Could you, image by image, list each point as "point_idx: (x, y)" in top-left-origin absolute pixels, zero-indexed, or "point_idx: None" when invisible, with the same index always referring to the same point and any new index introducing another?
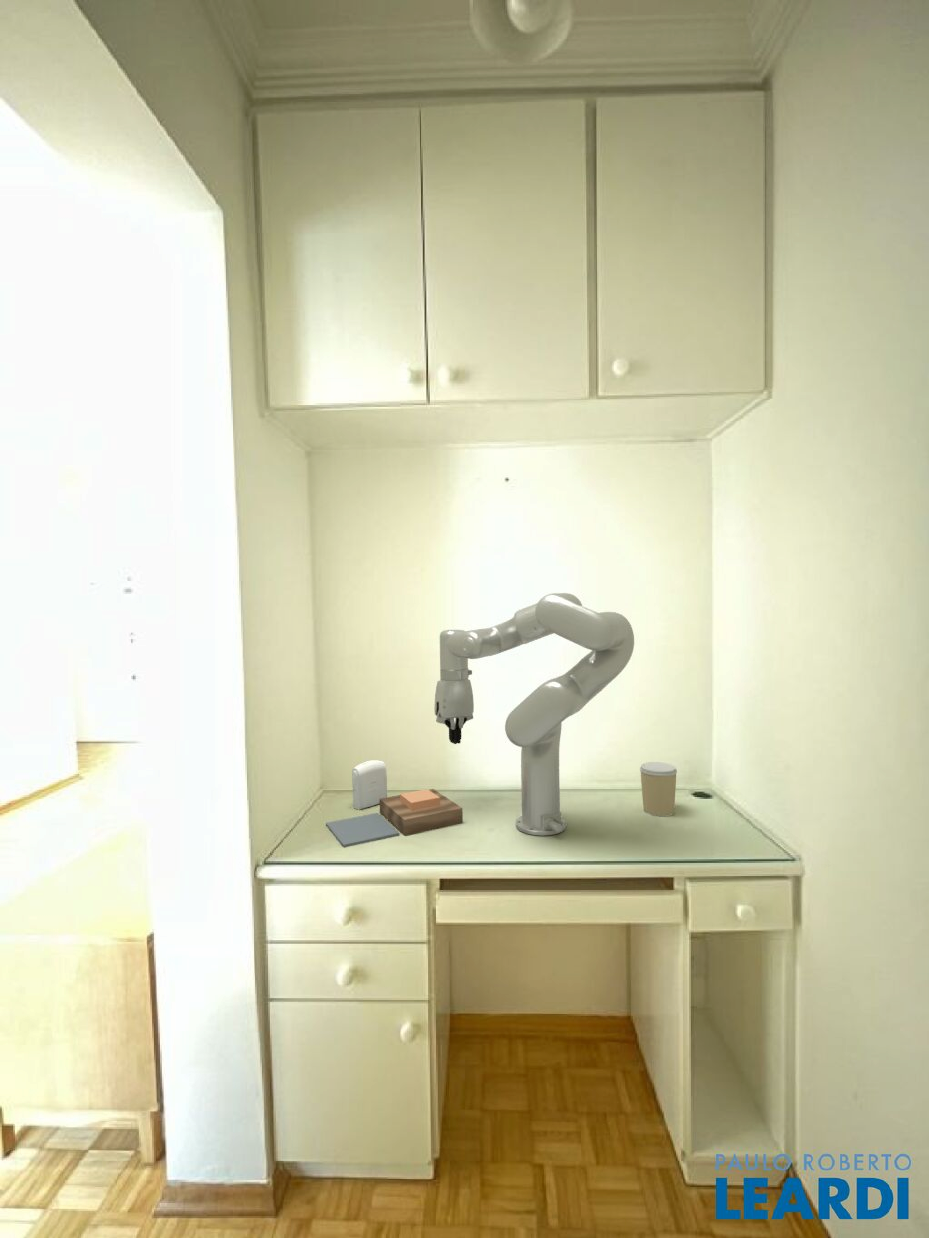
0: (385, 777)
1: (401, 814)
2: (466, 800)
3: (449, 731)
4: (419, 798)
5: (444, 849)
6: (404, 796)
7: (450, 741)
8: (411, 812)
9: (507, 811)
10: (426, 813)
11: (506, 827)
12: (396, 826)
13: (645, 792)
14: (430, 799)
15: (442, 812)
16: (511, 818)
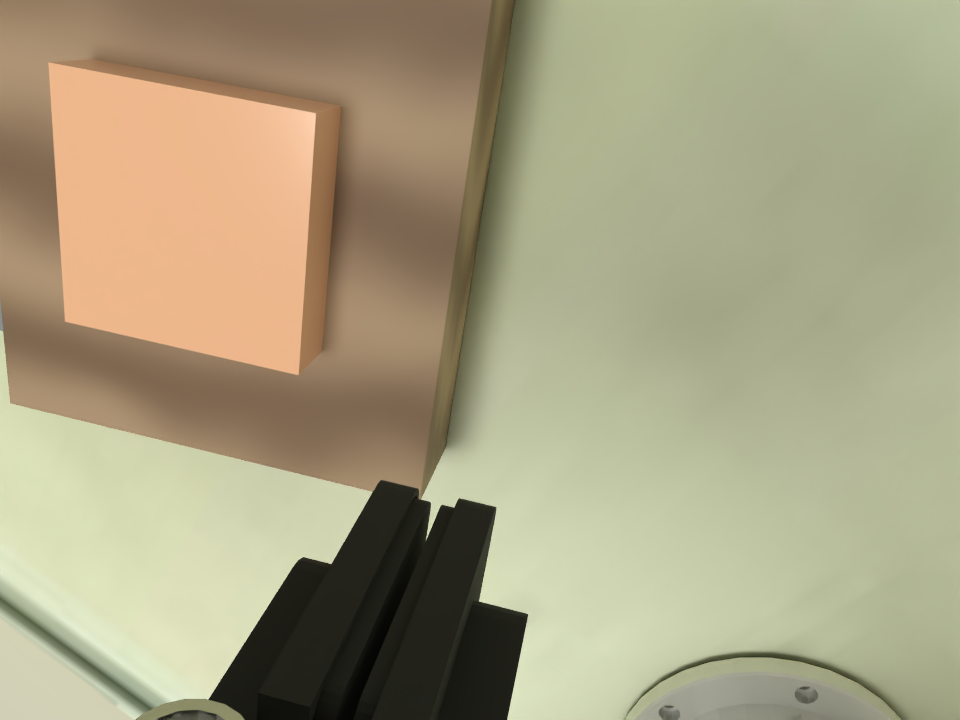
0: None
1: (20, 316)
2: (786, 102)
3: (225, 697)
4: (153, 282)
5: (188, 612)
6: (64, 152)
7: (381, 488)
8: (90, 331)
9: (823, 502)
10: (169, 413)
11: (606, 651)
12: None
13: None
14: (219, 356)
15: (269, 465)
16: (738, 593)
